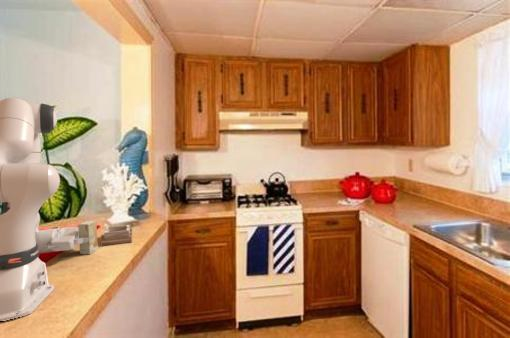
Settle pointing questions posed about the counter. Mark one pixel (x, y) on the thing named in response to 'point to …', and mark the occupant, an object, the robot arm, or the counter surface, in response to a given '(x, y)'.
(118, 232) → the collar stand
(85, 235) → the skincare box
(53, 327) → the counter surface
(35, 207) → the robot arm
